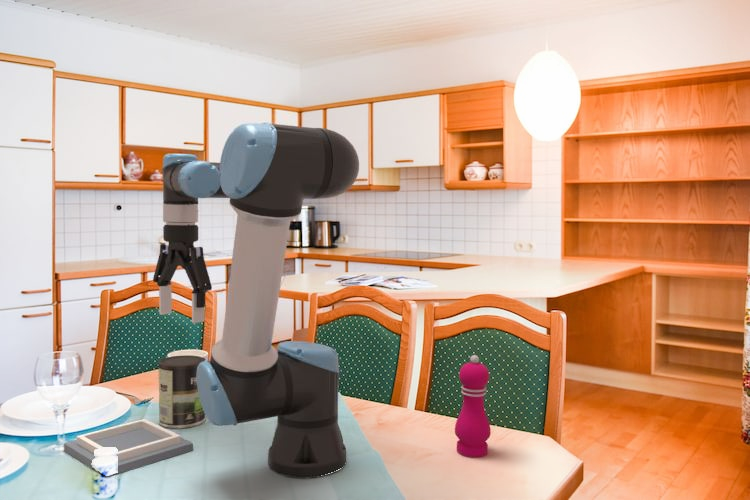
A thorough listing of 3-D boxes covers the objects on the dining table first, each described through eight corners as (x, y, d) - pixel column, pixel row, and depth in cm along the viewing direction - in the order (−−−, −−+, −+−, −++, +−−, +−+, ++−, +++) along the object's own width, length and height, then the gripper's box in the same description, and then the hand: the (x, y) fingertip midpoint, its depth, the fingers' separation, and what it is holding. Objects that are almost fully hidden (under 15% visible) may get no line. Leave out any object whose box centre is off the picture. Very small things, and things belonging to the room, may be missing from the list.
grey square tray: (193, 450, 132) (193, 435, 132) (106, 477, 118) (105, 461, 118) (147, 428, 144) (147, 415, 144) (64, 450, 130) (63, 436, 130)
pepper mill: (447, 447, 135) (450, 352, 134) (477, 443, 138) (480, 350, 136) (466, 460, 129) (468, 360, 127) (497, 455, 131) (499, 357, 130)
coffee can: (213, 415, 153) (213, 356, 152) (192, 430, 143) (192, 367, 142) (173, 412, 155) (172, 353, 154) (149, 426, 145) (149, 364, 144)
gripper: (228, 225, 140) (228, 323, 142) (166, 221, 157) (167, 308, 158) (197, 226, 135) (198, 328, 136) (137, 221, 151) (138, 312, 153)
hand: (181, 318), depth 147 cm, fingers open, 13 cm apart
